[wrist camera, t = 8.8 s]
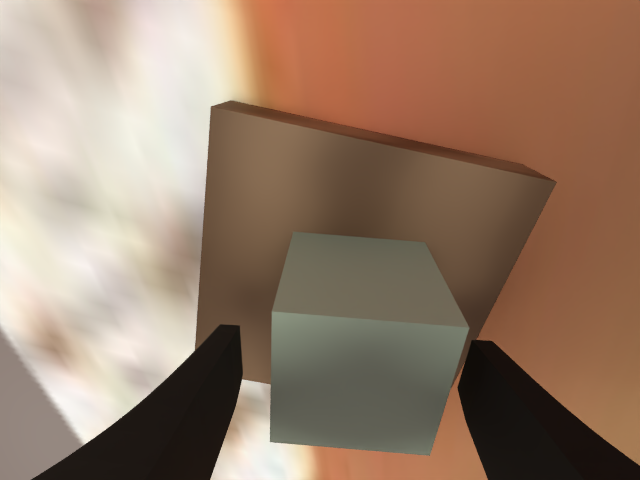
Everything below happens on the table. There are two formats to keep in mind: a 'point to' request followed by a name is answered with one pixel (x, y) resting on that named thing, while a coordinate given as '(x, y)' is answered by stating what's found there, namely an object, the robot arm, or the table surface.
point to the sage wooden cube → (362, 345)
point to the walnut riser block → (349, 213)
